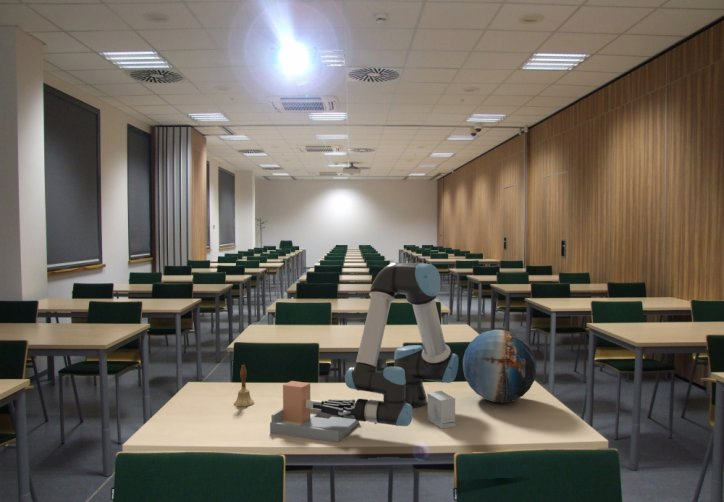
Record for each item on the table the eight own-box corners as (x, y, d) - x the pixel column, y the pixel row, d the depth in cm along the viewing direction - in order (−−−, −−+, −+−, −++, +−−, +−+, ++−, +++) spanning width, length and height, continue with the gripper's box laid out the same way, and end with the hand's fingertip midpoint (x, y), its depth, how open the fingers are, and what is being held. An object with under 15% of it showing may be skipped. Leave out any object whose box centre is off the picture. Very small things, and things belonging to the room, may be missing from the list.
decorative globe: (529, 366, 249) (463, 354, 254) (542, 321, 229) (469, 309, 235) (529, 423, 226) (455, 409, 232) (543, 378, 207) (462, 364, 213)
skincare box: (426, 419, 208) (426, 392, 208) (441, 417, 210) (441, 390, 210) (440, 428, 198) (440, 399, 198) (455, 426, 201) (455, 397, 200)
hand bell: (229, 405, 225) (229, 366, 225) (241, 399, 233) (241, 362, 232) (246, 407, 222) (246, 368, 222) (258, 402, 230) (257, 363, 229)
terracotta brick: (310, 418, 204) (310, 383, 203) (302, 423, 198) (301, 387, 198) (291, 415, 207) (291, 380, 206) (283, 420, 201) (282, 384, 201)
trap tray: (359, 422, 204) (359, 406, 204) (338, 442, 186) (338, 424, 185) (296, 414, 213) (295, 399, 213) (270, 432, 195) (270, 415, 194)
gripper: (361, 427, 186) (298, 419, 194) (373, 415, 198) (314, 408, 206) (361, 405, 186) (298, 398, 194) (373, 394, 198) (313, 388, 206)
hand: (306, 403), depth 200 cm, fingers closed
